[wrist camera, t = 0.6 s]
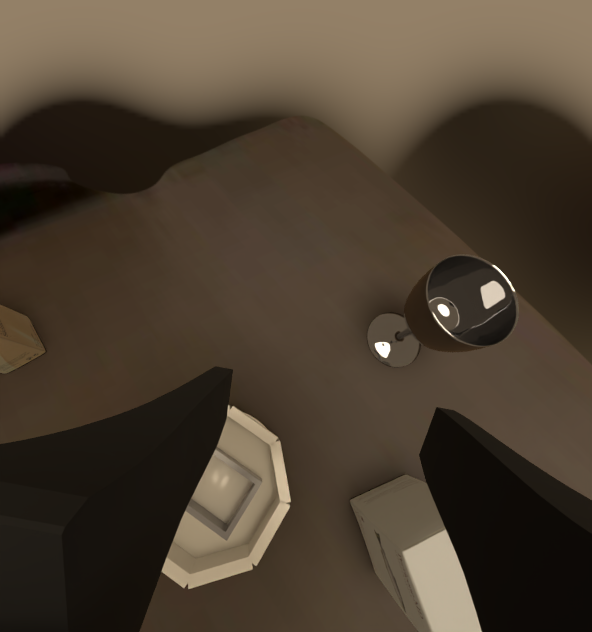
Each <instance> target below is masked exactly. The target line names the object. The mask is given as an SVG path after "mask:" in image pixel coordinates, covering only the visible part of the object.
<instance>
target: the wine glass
mask: <svg viewBox="0 0 592 632" xmlns="http://www.w3.org/2000/svg"><path fill="white" fill-rule="evenodd" d="M518 316H519V305H518V299H517V296H516V293H515V290H514V288H513V286H512V285H511V283H510V282H509V280H508V279H507V277H506V276H505V275H504V274H503V273H502V272H501V271H500V270H499V269H498V268H497V267H496V266H495V265H493V264H491V263H490V262H488V261H486V260H484V259H482V258H480V257H477V256H473V255H466V254H461V255H454V256H450V257H448V258H445V259H444V260H442V261H441V262H439V263H438V264H437V265H435V266H434V267H433V268H431V269H430V270H429V271H428V272H427V273H426V274H425V275H424V276H423V277H422V278H421V279H420V280H419V281H418V282H417V284H416V285H415V286H414V287H413V289H412V291H411V293H410V294H409V296H408V298H407V301H406V304H405V308H404V316H403V315H401V314H398V313H391V312H390V313H384V314H381V315H379V316H377V317H376V318H375V319H374V320H373V321H372V322H371V324H370V325H369V328H368V332H367V341H368V345H369V348H370V350H371V352H372V354H373V355H374V356H375V357H376V358H377V359H378V360H379V361H380V362H382V363H383V364H385V365H387V366H391V367H404V366H407V365H409V364H411V363H412V362H413V361H414V360H415V359H416V358H417V356H418V354H419V352H420V348H421V344H422V345H423V346H425V347H427V348H429V349H433V350H436V351H442V352H466V351H473V350H477V349H482V348H485V347H488V346H492V345H495V344H498V343H500V342H502V341H503V340H505V339H506V338H507V337H508V336H510V335H511V333H512V332H513V330H514V329H515V327H516V324H517V321H518Z"/></svg>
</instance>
